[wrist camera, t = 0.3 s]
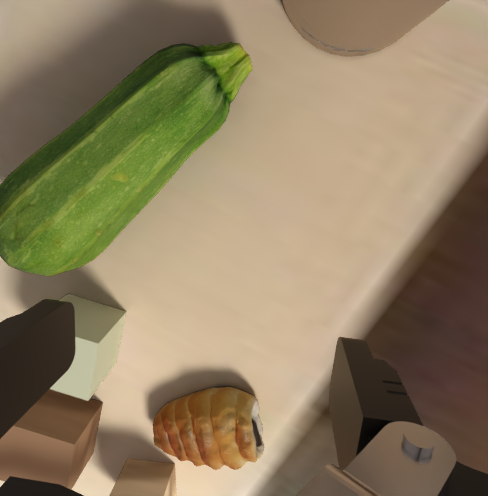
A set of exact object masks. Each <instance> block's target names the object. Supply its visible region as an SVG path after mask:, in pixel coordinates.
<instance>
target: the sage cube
mask: <svg viewBox="0 0 488 496" xmlns="http://www.w3.org/2000/svg"><path fill="white" fill-rule="evenodd" d="M59 301H66V302H71V303H72V304H73V306H74V310H75V346H76V349H75V356H74V360H73V362H72V365H71V366H70V368H69V369H68V371H67V372H66V373H65V374H64V375H63V376H62V377H61V378H60V379H59V380H58V381H57V382H56V383H55V384H54V385H53V386H52V387H51V388H50V389H51V390H54V391H58V392H61V393H64V394H67V395H71V396H74V397H77V398H80V399H83V400H87V401H89V399H90V398H91V397H92V395H93V394H94V393H95V391H96V390H97V388H98V387H99V386H100V384H101V383H102V382H103V380H104V379H105V377H106V376H107V375H108V373H109V372H110V371H111V369H112V368H113V367H114V365H115V364H116V362H117V357H118V352H119V347H120V342H121V337H122V332H123V327H124V322H125V317H126V311H123V310H120V309H116V308H113V307H110V306H106V305H103V304H100V303H97V302H93V301H90V300H87V299H84V298H80V297H77V296H74V295H70V294H67V295H65V296H64V297H63V298H62V299H60V300H59Z"/></svg>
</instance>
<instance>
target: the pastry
mask: <svg viewBox="0 0 488 496" xmlns="http://www.w3.org/2000/svg"><path fill="white" fill-rule="evenodd" d="M258 412H259V404H258V400H257V399H256V398H255V397H254V396H252V395H251V394H248V393H246V392H243V391H241V390H239V389H237V388H233V387H229V386H228V387H223V388H216V387H213V388H210V389H204V390H202V391H199V392H195V393H192V394H190V395H187V396H184V397H181V398H178V399H176V400H173V401H171V402H169V403H167V404H166V405H165V406H164V407H163V408H161V409H160V411H159V412H158V413H157V415H156V416H155V418H154V423H153V432H154V443H155V445H156V446H158V447H159V448H161V449H162V450H163V451H164V452H166V453H167V454H170V455H172V456H175V457H177V458H178V459H179V460H180V461H185V460H189V461H191V462H193V463H194V465H195V466H201V465H204V464H205V465H207V466H209V467H211V468H213V469H215V470H217V469H220V468H221V467H222V466H223V465H226V466H229V467H230V468H232V469H239V468H241V467H242V466H243V465H244V464H245V463H246V462H247V461H251V462H256V461H257V459H259V458H260V457H261V456H262V454H263V451H264V444H263V441H262V437H261V435H262V434H263V427H262V423H261V421H260V417H259V416H258Z"/></svg>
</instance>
